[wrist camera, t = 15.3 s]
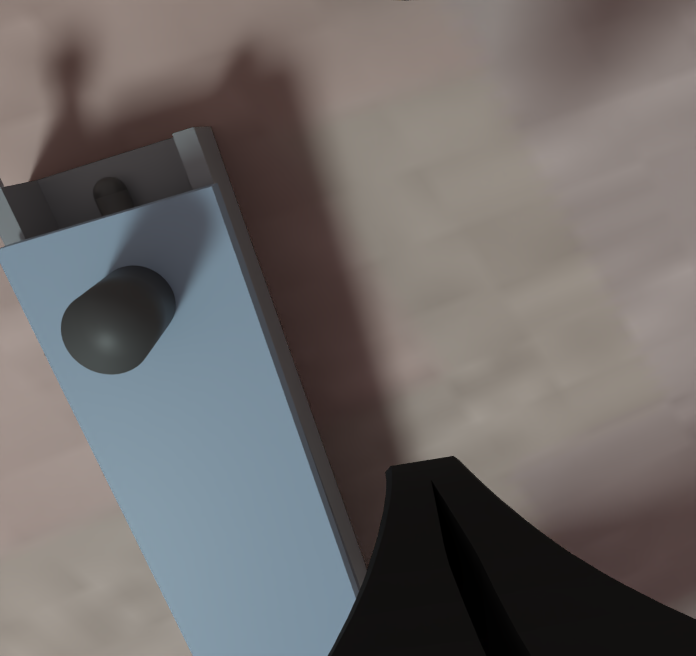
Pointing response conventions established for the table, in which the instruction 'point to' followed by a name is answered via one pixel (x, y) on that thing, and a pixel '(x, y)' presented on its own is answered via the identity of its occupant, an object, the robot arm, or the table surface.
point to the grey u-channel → (148, 186)
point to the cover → (191, 421)
